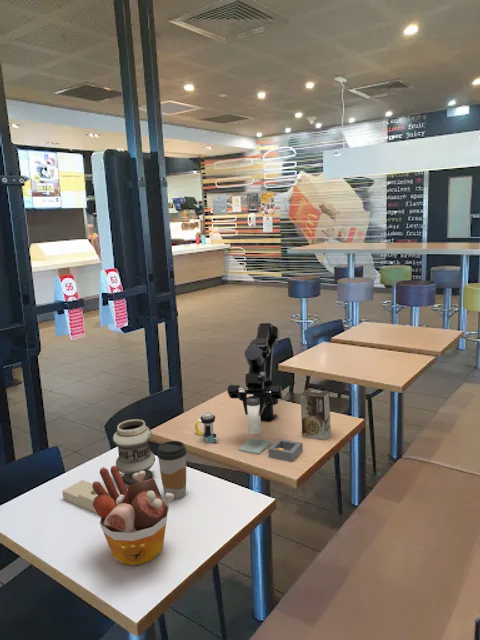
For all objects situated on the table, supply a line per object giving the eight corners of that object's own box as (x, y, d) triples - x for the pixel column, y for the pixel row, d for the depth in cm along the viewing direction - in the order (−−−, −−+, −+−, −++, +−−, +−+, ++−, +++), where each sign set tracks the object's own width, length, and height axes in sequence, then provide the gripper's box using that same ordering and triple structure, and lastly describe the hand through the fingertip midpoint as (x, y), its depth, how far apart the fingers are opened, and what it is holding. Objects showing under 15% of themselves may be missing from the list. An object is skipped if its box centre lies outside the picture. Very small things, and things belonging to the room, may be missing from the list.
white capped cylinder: (255, 427, 177) (253, 395, 174) (263, 431, 173) (262, 398, 171) (245, 431, 174) (243, 398, 172) (254, 435, 171) (252, 401, 168)
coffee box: (331, 433, 182) (330, 391, 179) (325, 440, 176) (324, 396, 173) (307, 430, 186) (306, 388, 183) (301, 436, 181) (299, 394, 178)
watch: (211, 434, 188) (211, 419, 187) (208, 437, 185) (208, 422, 184) (197, 431, 190) (197, 417, 189) (193, 434, 188) (193, 419, 186)
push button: (222, 440, 181) (221, 414, 180) (213, 446, 177) (211, 419, 175) (208, 436, 185) (206, 410, 183) (199, 442, 181) (197, 415, 179)
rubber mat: (251, 439, 181) (251, 437, 181) (271, 442, 177) (271, 441, 177) (238, 450, 172) (238, 449, 172) (259, 454, 168) (258, 453, 168)
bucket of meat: (190, 543, 123) (184, 468, 119) (144, 585, 110) (135, 502, 106) (131, 521, 134) (124, 452, 130) (82, 557, 120) (72, 480, 117)
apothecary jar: (110, 479, 157) (103, 425, 154) (142, 465, 166) (137, 413, 162) (131, 492, 149) (125, 435, 146) (164, 476, 157) (159, 422, 154)
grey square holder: (279, 446, 174) (279, 437, 173) (302, 450, 169) (302, 441, 169) (268, 457, 166) (268, 447, 166) (292, 461, 162) (292, 452, 162)
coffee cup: (178, 484, 152) (174, 437, 150) (195, 493, 146) (191, 445, 144) (155, 495, 147) (150, 447, 144) (172, 505, 141) (168, 455, 138)
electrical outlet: (82, 477, 152) (122, 492, 142) (83, 489, 153) (124, 505, 143) (61, 487, 147) (103, 504, 136) (63, 500, 147) (104, 517, 137)
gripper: (226, 362, 175) (221, 404, 166) (280, 362, 171) (277, 405, 163) (232, 377, 184) (228, 417, 175) (283, 377, 180) (281, 418, 172)
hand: (253, 414), depth 171 cm, fingers closed on white capped cylinder, 4 cm apart
